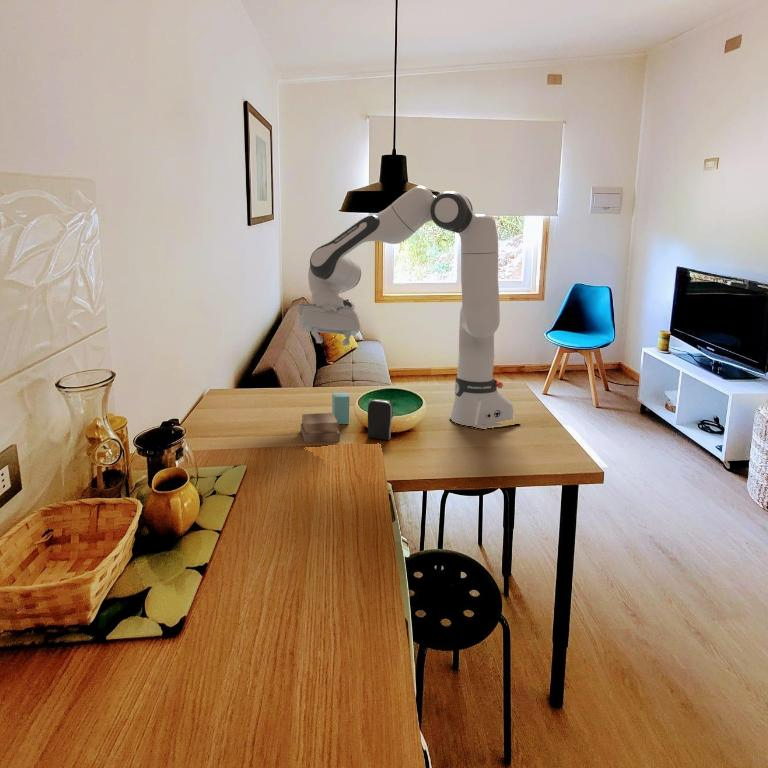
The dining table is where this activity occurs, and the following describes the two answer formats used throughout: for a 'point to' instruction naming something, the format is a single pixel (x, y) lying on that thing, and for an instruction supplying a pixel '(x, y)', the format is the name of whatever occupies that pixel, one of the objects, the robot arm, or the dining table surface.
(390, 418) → the battery
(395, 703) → the dining table surface
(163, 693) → the dining table surface
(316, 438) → the tower base
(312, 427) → the tower top
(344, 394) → the teal post
